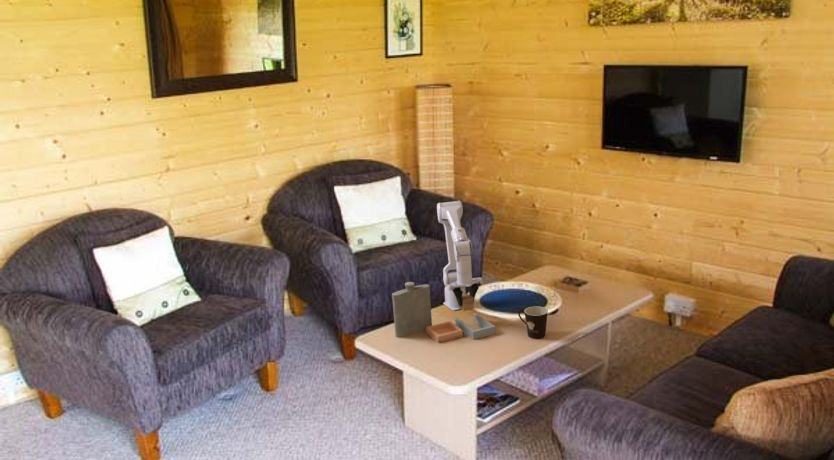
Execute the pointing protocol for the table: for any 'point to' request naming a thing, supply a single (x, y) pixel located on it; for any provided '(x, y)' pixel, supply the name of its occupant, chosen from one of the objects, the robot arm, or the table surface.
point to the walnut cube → (467, 302)
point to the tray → (444, 331)
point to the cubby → (474, 334)
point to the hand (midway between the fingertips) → (465, 303)
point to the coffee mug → (535, 321)
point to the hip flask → (411, 309)
